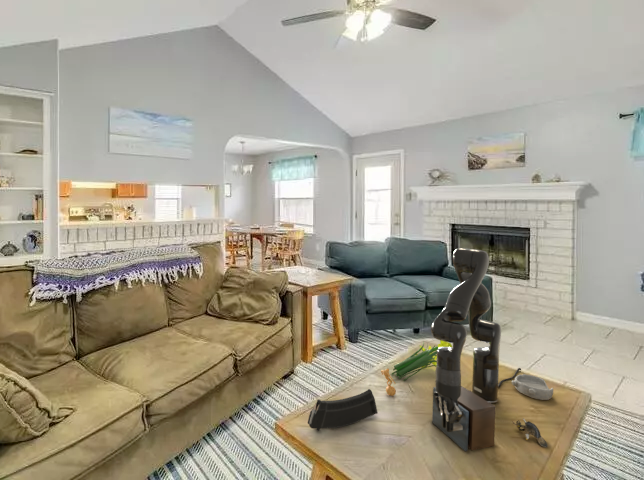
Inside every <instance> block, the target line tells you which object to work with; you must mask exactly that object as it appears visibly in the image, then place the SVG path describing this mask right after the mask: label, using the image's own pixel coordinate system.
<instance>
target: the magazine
mask: <svg viewBox="0 0 644 480" xmlns="http://www.w3.org/2000/svg"><path fill="white" fill-rule="evenodd" d="M378 412H379V411H378V408H377V403H376V398H375V396H374V394H373V391H372V390H371V388H368V389H367V390H365V391H364V392H361V393H359V394H356V395H353V396H349V397H346V398H341V399H334V400H321V399H317V400H316V402H315V404H314V405H313V407H312V409H311V410H310V412H309V414H308V419H307V425H309V427H310V428H311V429H315V430H316V431H317V432H320V431H321V430H324V429H326V430H327V429H336V428H342V427H347V426H350V425H353V424H355V423H358V422H361V421H363V420H365V419H368V418H369V417H372V416H374V415H378V414H379V413H378Z"/></svg>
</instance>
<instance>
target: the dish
mask: <svg viewBox="0 0 644 480" xmlns="http://www.w3.org/2000/svg"><path fill="white" fill-rule="evenodd" d="M510 382H511V385H512V386H513V387H514V388H515V389H516V391H518V392H519V393H521V394H523V395H525V396H527V397H529V398H532V399H535V400H541V401H548V400H550V399H552V398H553V396H554V387H551V388H549V386H548V384H547V382H546V381H545V379H544V378H541V377H539V376H535V375H531V374H525V373H523V374H518V375H516V377H515V378H514V380H513V379H511V381H510Z"/></svg>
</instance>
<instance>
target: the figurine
mask: <svg viewBox="0 0 644 480" xmlns="http://www.w3.org/2000/svg"><path fill="white" fill-rule="evenodd" d="M380 372H381V376H384V378H385V379H386V380H387V381H386V384H387V386H386V388H385V393H386V394H387V395H388V396H390V397H394V396H395V395H396V393H397V389H396V388H395V386H393V385H392V384H393V383H394V385H396V384H397V383H396V381H394V379H393V377H392V376H391V374H390V368H386V369H381V370H380Z"/></svg>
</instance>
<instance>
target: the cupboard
mask: <svg viewBox="0 0 644 480" xmlns="http://www.w3.org/2000/svg"><path fill="white" fill-rule="evenodd" d="M458 404H459V405H461V406H462V407H463V408H465V409H466V410H467V411H469V423H468V450H470V451H477V450H480V449H486V448H490V447H494V446H495V436H496V435H495V434H496V433H495V432H496V409H497V408H496V407H497V406H496V405H494V404H493V403H489V402H487V401H486V400H484V399H482V398H481V397H479V396H477V395H476V394H474V393H472V390H470V389H467V388H466V387H464V386H463V385H461V395H460V397H459V398H458Z"/></svg>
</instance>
